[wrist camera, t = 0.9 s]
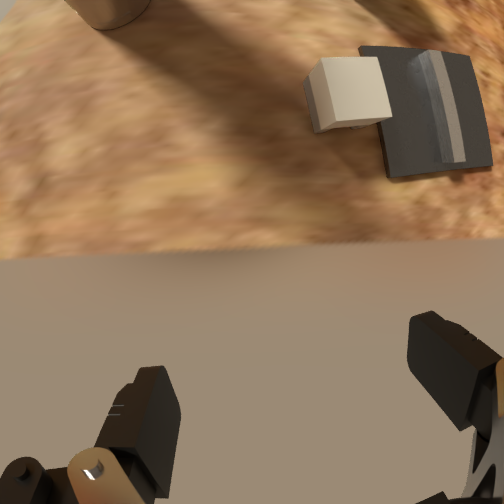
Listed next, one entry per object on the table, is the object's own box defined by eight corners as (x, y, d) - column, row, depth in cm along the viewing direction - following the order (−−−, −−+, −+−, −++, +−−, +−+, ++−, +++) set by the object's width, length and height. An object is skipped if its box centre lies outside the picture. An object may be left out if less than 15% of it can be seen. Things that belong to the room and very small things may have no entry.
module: (302, 82, 31) (321, 58, 23) (349, 79, 31) (377, 56, 23) (314, 133, 32) (336, 121, 25) (360, 128, 32) (392, 116, 25)
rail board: (357, 48, 30) (369, 37, 26) (465, 57, 30) (479, 51, 27) (386, 177, 34) (401, 178, 30) (488, 165, 34) (505, 165, 30)
